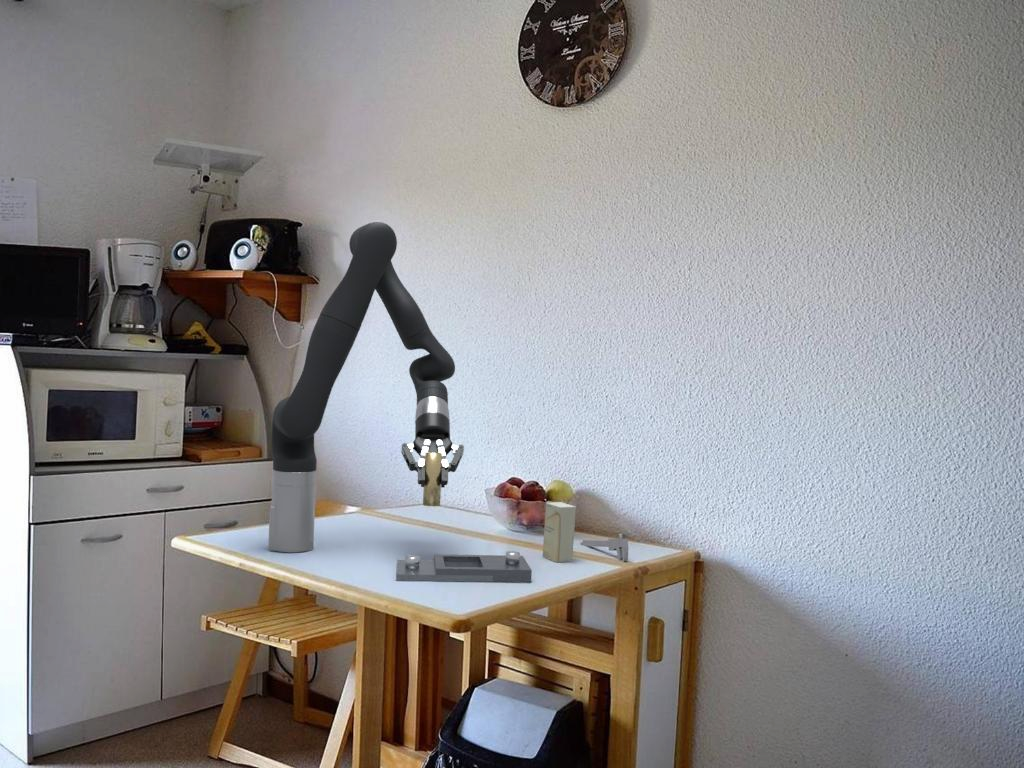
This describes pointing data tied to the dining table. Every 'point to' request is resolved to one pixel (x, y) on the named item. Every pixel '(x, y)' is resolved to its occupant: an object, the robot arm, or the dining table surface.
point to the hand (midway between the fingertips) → (433, 484)
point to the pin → (432, 479)
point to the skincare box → (559, 531)
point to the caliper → (612, 545)
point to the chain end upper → (487, 566)
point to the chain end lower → (433, 571)
